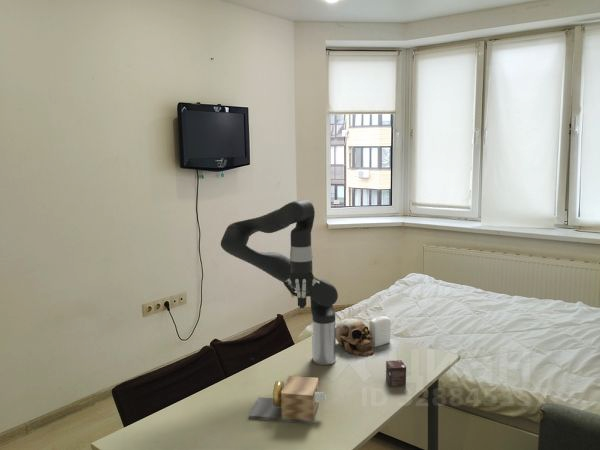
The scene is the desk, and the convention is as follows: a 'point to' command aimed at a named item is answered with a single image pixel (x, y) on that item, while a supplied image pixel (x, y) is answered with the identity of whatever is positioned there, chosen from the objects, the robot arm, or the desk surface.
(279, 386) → the shaft
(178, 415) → the desk surface
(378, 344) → the photo printer
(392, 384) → the box
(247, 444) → the desk surface
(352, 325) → the skull
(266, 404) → the bearing block
